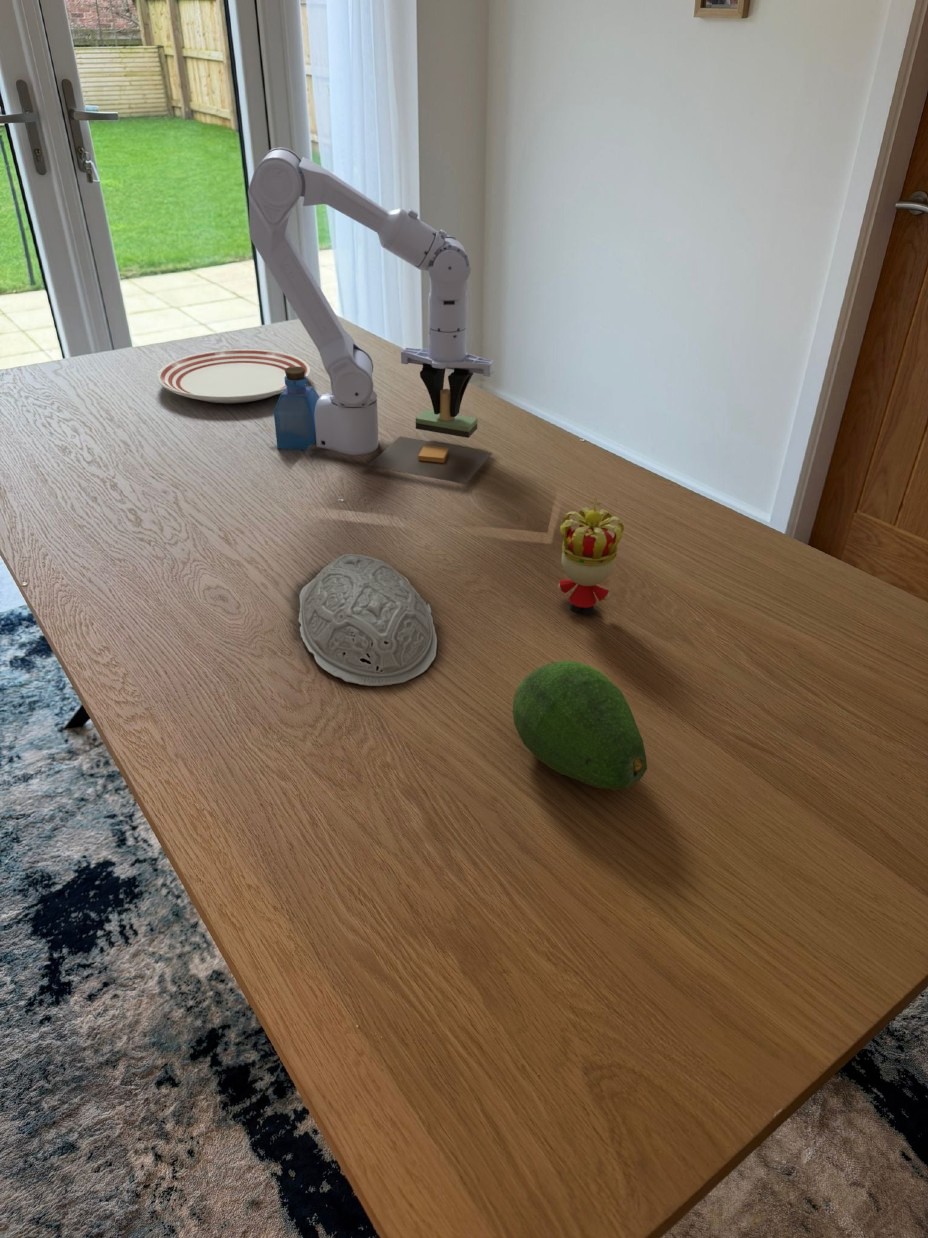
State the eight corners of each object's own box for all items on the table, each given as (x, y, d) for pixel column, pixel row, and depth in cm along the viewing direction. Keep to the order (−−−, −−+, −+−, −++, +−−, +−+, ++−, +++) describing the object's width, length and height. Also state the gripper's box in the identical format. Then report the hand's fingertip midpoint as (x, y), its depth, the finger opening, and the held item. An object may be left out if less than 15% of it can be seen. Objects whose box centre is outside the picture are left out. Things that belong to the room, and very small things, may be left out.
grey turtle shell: (315, 692, 93) (317, 638, 89) (285, 578, 113) (286, 530, 110) (457, 681, 97) (464, 629, 94) (404, 574, 118) (408, 527, 114)
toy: (617, 600, 110) (633, 490, 101) (605, 632, 104) (621, 518, 95) (560, 589, 111) (571, 479, 103) (545, 620, 106) (556, 507, 97)
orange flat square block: (418, 460, 138) (418, 455, 138) (424, 449, 142) (424, 445, 141) (443, 462, 138) (443, 458, 137) (448, 452, 141) (448, 447, 141)
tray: (368, 472, 137) (367, 465, 137) (400, 442, 147) (399, 436, 146) (465, 491, 133) (465, 483, 132) (492, 459, 142) (492, 452, 141)
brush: (415, 428, 142) (415, 391, 139) (425, 419, 145) (425, 382, 142) (468, 438, 140) (469, 399, 136) (477, 428, 143) (478, 391, 139)
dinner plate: (172, 362, 175) (169, 345, 173) (313, 360, 178) (312, 344, 176) (147, 416, 153) (143, 398, 151) (308, 413, 156) (307, 395, 154)
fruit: (666, 798, 83) (683, 716, 77) (576, 836, 79) (588, 753, 73) (573, 703, 93) (583, 625, 88) (491, 732, 89) (495, 653, 84)
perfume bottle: (324, 435, 148) (319, 364, 142) (315, 450, 143) (309, 377, 136) (287, 432, 149) (280, 361, 142) (277, 448, 144) (269, 375, 137)
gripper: (391, 327, 132) (394, 415, 140) (484, 340, 128) (481, 429, 136) (410, 314, 137) (411, 399, 145) (500, 326, 133) (496, 413, 141)
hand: (446, 413), depth 141 cm, fingers closed on brush, 2 cm apart
